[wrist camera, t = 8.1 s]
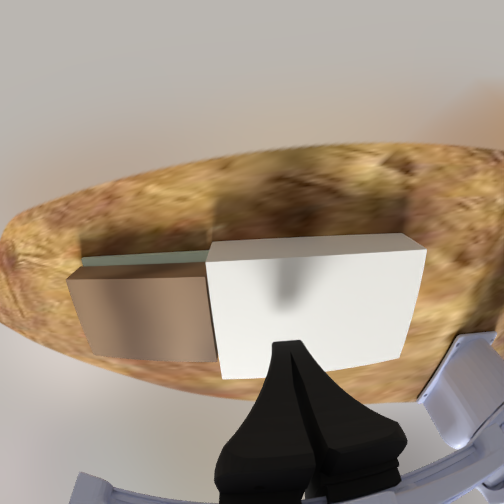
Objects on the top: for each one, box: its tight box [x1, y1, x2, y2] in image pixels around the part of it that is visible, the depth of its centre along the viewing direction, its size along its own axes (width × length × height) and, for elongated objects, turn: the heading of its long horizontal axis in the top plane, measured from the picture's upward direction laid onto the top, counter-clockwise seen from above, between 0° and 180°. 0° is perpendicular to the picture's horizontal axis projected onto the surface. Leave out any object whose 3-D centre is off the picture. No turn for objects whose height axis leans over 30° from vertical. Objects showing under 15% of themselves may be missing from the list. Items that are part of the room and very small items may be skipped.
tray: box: [206, 233, 427, 379], centre depth 16 cm, size 12×8×3 cm, turn 93°
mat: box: [81, 250, 209, 266], centre depth 17 cm, size 9×7×1 cm
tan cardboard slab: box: [66, 262, 218, 362], centre depth 16 cm, size 9×6×2 cm, turn 92°
